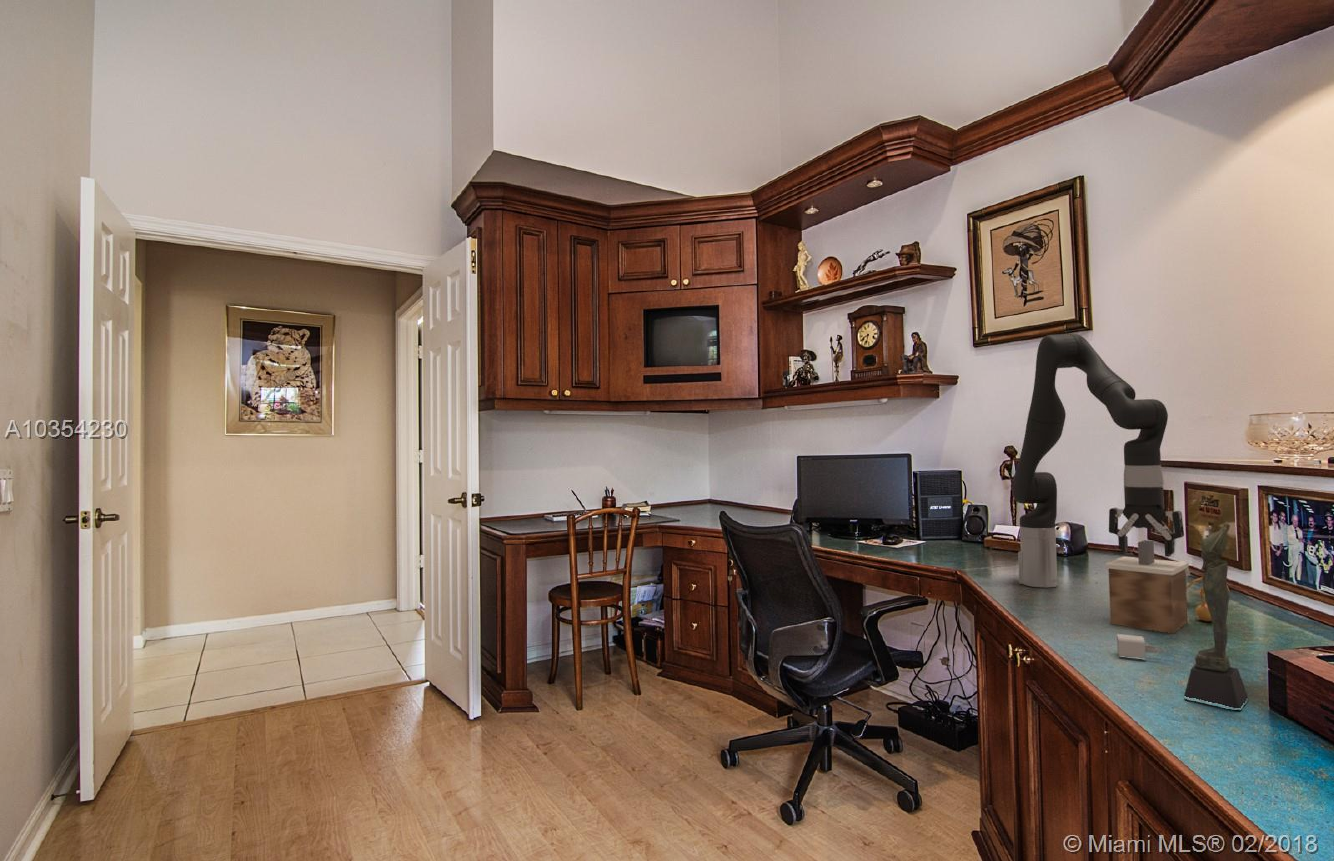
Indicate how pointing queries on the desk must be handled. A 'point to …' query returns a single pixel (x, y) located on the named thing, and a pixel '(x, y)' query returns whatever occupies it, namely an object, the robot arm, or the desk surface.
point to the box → (1148, 600)
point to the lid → (1147, 562)
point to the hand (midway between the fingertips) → (1146, 554)
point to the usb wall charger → (1133, 646)
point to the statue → (1216, 633)
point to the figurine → (1202, 604)
